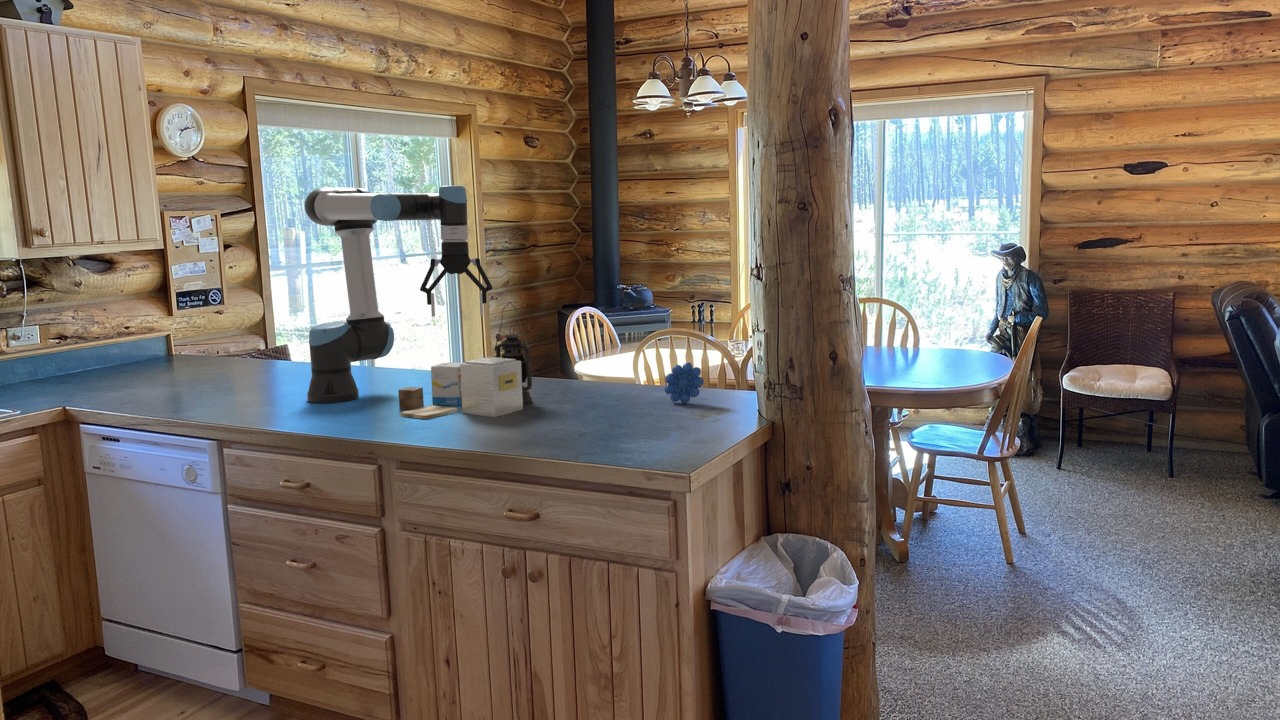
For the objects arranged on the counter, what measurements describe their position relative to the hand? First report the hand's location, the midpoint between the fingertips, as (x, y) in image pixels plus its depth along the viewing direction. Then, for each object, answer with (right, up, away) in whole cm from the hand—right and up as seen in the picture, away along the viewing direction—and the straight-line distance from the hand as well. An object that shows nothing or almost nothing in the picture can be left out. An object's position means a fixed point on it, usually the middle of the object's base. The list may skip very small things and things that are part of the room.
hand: (457, 315), depth 273 cm
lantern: (+15, -26, +9) cm, 31 cm away
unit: (+11, -27, -3) cm, 29 cm away
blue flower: (+65, -25, +3) cm, 70 cm away
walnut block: (-14, -27, +3) cm, 30 cm away
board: (-7, -28, -5) cm, 29 cm away
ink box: (-4, -26, +11) cm, 28 cm away
